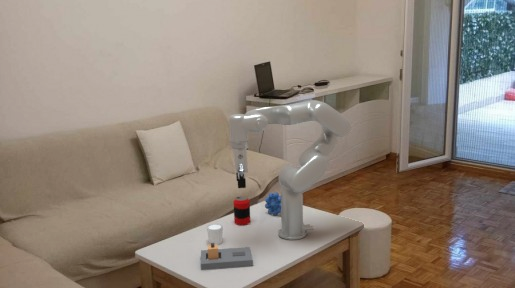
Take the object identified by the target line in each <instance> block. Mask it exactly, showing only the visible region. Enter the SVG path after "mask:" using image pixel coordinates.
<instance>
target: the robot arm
mask: <svg viewBox="0 0 515 288" xmlns="http://www.w3.org/2000/svg"><path fill="white" fill-rule="evenodd" d="M311 121H315V122H316V123H318V124H320V125H321V132H320V135H319V137H318V138H317V139H316V140H315V141H314V142H313V143H312V144H311V145H309V147H307V148H306V149H305V150H304V151H303V152H301V154H300V155H299V156H298V164H299V165H300V167H298V166H297V165H295V164H290V163H288V164H285V165H283V166H282V167H281V168H280V170H279V172H278V183H279V188H280V196H281V213H280V215H281V220H280V221H281V222H280V223H281V228H280V229H279V230H278V233H277V234H278V236H279V237H280V238H282V239H284V240H291V241H293V240H295V241H296V240H300V239H304V238H305V237H306V236H307V235H308V234H307V233H308V231H314V230H315V226H314V225H310V224H305V223H304V197H303V193H304V192H306V191H307V190H309V189H310V188H311V187H312V186H314V185H315V184H316V183H317V182H318V181H319V180H320V179H322V177H324V176H325V175H326V174H327V172H328V171H329V169H330V161H329V158H328V157H329V156H330V155H331V154H332V153H333V152H334V150H335V149H336V148H337V146H338V142H339V141H338V140H339V138H343V137H346V136H348V135H349V134H350V133H351V130H352V124H351V121H350V120H349V118H347V117H346V116H344V115H343V114H342V113H340V112H339V111H337V110H336V109H335V108H334V107H332V106H331V105H329V104H328V103H325V102H324V101H320V100H316V99H311V100H305V101H300V102H296V103H291V104H285V105H283V104H282V105H275V106H266V107H260V108H254V109H251V110H248V111H247V112H245V113H244V114H243V113H235V114H231V115H230V116H229V118H228V124H229V125H228V127H229V130H228V131H229V145H230V149H231V150H232V151H233V164H234V169H235V174H236V182H237V188H238V189H246V187H247V183H246V181H247V180H246V175H245V173H248V172H249V170H248V169H249V168H248V155H247V154H248V152H247V149H249V148H250V147H249V133H250V132H251V133H252V132H253V133H261V132H263V131H265V130H266V129H267V127H268V126H269V125H282V126H293V125H296V124H302V123H306V122H311Z"/></svg>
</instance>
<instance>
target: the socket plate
mask: <svg viewBox="0 0 515 288" xmlns="http://www.w3.org/2000/svg"><path fill="white" fill-rule="evenodd" d="M218 256H219V259H213V260H208V249H204V250H200V271H203V270H204V271H206V270H217V269H219V270H220V269H228V268H229V269H230V268H231V269H232V268H241V267H253V266H254V260H253V255H252V250H251V247H250V246H241V247H229V248H218Z"/></svg>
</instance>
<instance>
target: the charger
mask: <svg viewBox="0 0 515 288" xmlns="http://www.w3.org/2000/svg"><path fill="white" fill-rule="evenodd" d="M218 249H219V244H215V245H214V243H211V244H208V245H207V250H208V259H207V260H213V259H220V258H219V256H218Z"/></svg>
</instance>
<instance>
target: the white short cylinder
mask: <svg viewBox="0 0 515 288" xmlns="http://www.w3.org/2000/svg"><path fill="white" fill-rule="evenodd" d="M223 230H224V226H223V225H222V224H219V223H213V224H210V225H208V226H207V227H206V232H207V237H208V238H207V239H208V243H209V245H211V243H214V245H215V244H218V245H221V244H222V243H223Z"/></svg>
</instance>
